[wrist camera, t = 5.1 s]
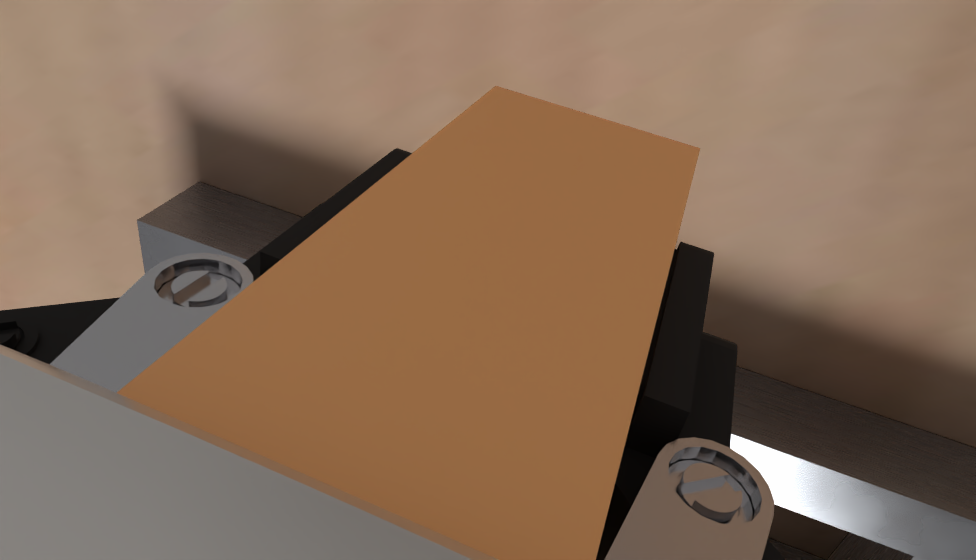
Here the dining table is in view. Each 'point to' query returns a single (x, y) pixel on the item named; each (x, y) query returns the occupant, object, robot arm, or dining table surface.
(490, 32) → the dining table surface
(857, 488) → the peg board
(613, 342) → the square peg
